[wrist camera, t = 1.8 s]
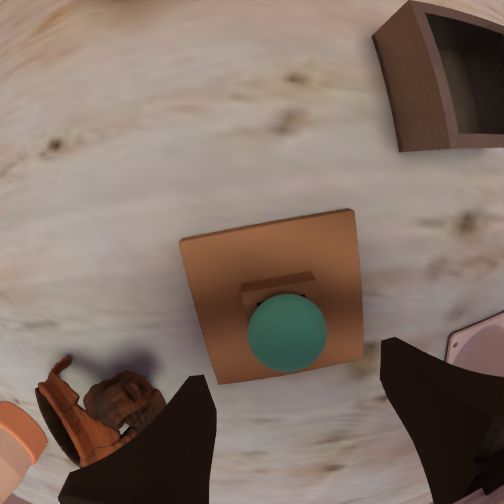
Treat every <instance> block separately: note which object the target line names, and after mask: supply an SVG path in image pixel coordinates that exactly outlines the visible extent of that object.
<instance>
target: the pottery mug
mask: <svg viewBox="0 0 504 504" xmlns="http://www.w3.org/2000/svg"><path fill="white" fill-rule="evenodd" d="M70 364H71V358H70V357H69V356H68V357H66V358H65V359H62V360H61V361H60V362H59V363H56V364H55V366H54V368H53V369H52V370H51V372H50V373H49V376H48V379H47V380H46V382H40V383H38V387H37V388H35V394H36V398H37V402H38V405H39V408H40V411H41V413H42V416H43V418H44V420H45V422H46V424H47V426H48V428H49V430H50V432H51V433H52V435H53V437H54V438H55V440H56V441H57V443H58V445H59V446H60V447H61V449H62V450H63V451H64V452H65V454H66V455H67V456H68V457H69V459H70V460H71V461H72V462H73V463H74V464H76V465H77V466H78V467H80V468H83V467H85V466H88V465H90V464H92V463H94V462H96V461H98V460H100V459H102V458H104V457H106V456H108V455H109V454H111V453H113V452H114V451H116V450H117V449H119V448H120V447H122V446H123V445H124V444H126V443H127V442H129V441H130V440H131V439H133V438H134V437H135V436H136V435H138V434H139V433H140V432H141V431H142V430H143V429H144V428H146V427H147V426H148V425H149V424H150V423H151V422H152V421H153V420H154V418H155V417H156V416H157V415H158V414H159V413H160V412H161V411H162V410H163V409H164V408H165V406H166V405H165V403H164V400H163V397H162V395H161V393H160V391H159V390H155V391H153V393H152V391H151V386H150V384H149V382H147V381H146V379H145V378H144V377H142V376H139V375H136V374H135V373H133V372H131V371H128V370H125V371H124V372H120V373H118V374H117V375H116V376H115V377H113V378H112V379H110V380H104V381H102V382H101V383H99V384H95V385H93V386H92V387H91V388H90V390H89V391H88V393H87V394H86V395H85V396H84V399H83V403H84V406H85V408H86V410H84V409H83V408H82V407H80V406H79V405H78V404H77V402H78V400H79V398H80V397H79V395H78V394H77V393H76V392H75V391H74V390H72V389H71V388H70V386H69V385H68V384H67V383H66V382H65V381H63V380H61V379H60V377H59V376H58V374H59V373H60V372H61V371H62V370H64V369H65V368H66V367H68V366H69V365H70ZM124 422H125V423H126V424H128V425H130V426H129V427H128V428H127V430H126V431H124V433H123V434H122V435H121V434H120V431H119V430H118V429H120V428H121V427H122V426H123V424H124Z"/></svg>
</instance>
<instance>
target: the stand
mask: <svg viewBox="0 0 504 504" xmlns="http://www.w3.org/2000/svg"><path fill="white" fill-rule="evenodd" d="M179 246H180V250H181V254H182V258H183V262H184V266H185V270H186V274H187V278H188V282H189V285H190V289H191V293H192V297H193V300H194V304H195V308H196V311H197V315H198V318H199V322H200V326H201V329H202V332H203V336H204V339H205V343H206V346H207V349H208V353H209V356H210V359H211V362H212V366H213V369H214V372H215V375H216V378H217V381H218V384H219V385H221V384H229V383H237V382H244V381H251V380H258V379H265V378H271V377H277V376H282V375H288V374H293V373H299V372H304V371H309V370H313V369H318V368H323V367H327V366H332V365H336V364H340V363H344V362H349V361H353V360H357V359H360V358H363V312H362V291H361V275H360V262H359V251H358V240H357V230H356V221H355V213H354V210H352V209H349V208H348V209H342V210H336V211H330V212H324V213H318V214H312V215H307V216H301V217H295V218H289V219H284V220H278V221H273V222H267V223H262V224H256V225H251V226H245V227H240V228H235V229H229V230H224V231H219V232H214V233H209V234H204V235H198V236H193V237H188V238H183V239H182V240H181V241H180V242H179ZM281 294H295V295H299V296H302V297H305V298H307V299H308V300H310V301H311V302H313V303H314V304H315V305H316V306H317V307H318V308H319V310H320V311H321V312H322V314H323V316H324V319H325V321H326V325H327V340H326V344H325V347H324V349H323V351H322V353H321V354H320V356H319V357H318V358H317V359H316V360H315V361H314V362H313V363H312V364H311V365H309V366H308V367H306V368H304V369H302V370H299V371H295V372H279V371H275V370H272V369H270V368H268V367H266V366H265V365H263V364H262V363H261V362H259V360H258V359H257V358H256V357H255V356H254V354H253V352H252V350H251V348H250V346H249V342H248V326H249V322H250V319H251V317H252V315H253V313H254V312H255V310H256V309H257V308H258V307H259V306H260V305H261V304H262V303H263V302H264V301H266V300H267V299H269V298H271V297H274V296H277V295H281Z"/></svg>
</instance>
